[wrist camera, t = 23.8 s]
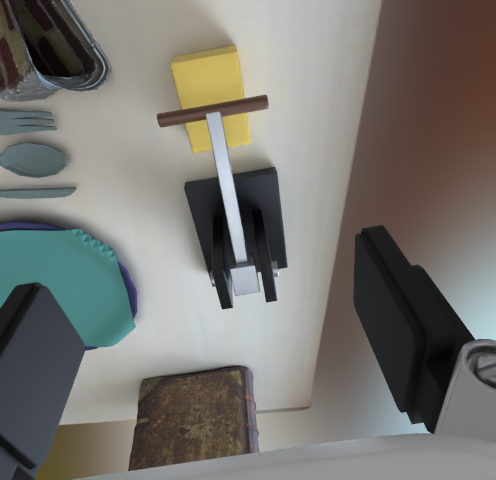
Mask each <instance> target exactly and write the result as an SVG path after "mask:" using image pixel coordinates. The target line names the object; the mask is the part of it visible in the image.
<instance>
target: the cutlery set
mask: <svg viewBox="0 0 496 480" xmlns="http://www.w3.org/2000/svg"><path fill="white" fill-rule="evenodd" d="M50 115H52V113H51V112H42V111H14V110H2V109H0V135H9V134H15V133H24V132H33V131H43V130H56V127H55V126H32V125H30V124H40V123H54V119H36V118H26V117H36V116H50ZM0 165H1V166H2V167H3V168H5V169H7V170H9V171H11V172H13V173H15V174H17V175H19V176H27V177H35V178H41V177H46V176H51V175H55V174H58V173H59V172H60V171H61V170H62V169H63V168H65V167H66V166H67V163H66V160H65V157H64V154H62V153H60V152H58V151H56V150H54V149H53V148H51V147H49V146H46V145H39V144H32V143H22V144H18V145H13V146H9V147H7V148H6V149H5V150H4V151H3V152H2V153H1V154H0ZM75 190H76V187H71V188H41V189H11V190H0V197H5V198H55V197H65V196H68V195H70V194H72V193H74V191H75ZM33 282H39V283H41V284H42V285H43V286H47V287H48V288H49V290H50V291H51V293H52V294H53V296H54V297H55V299H56V300H57V302H58V303H59V305H60V306H61V308H62V309H63V311H64V313H65V314H66V316H67V317H68V319H69V320H70V322H71V323H72V325H73V326H74V328H75V329H76V331H77V332H78V334H79V335H80V337H81V338H82V340H83V342H84V345H85V351H86V350H92V349H96V348H99V347H108V346H113V345H115V344H117V343H118V342H119V341H120V340H122V339H123V338H124V337H125V336H126V335H127V334H128V333H130V332H131V331H132V330H133V329H134V328H135V327H136V326H135V323H134V320H133V319H134V317H135V314H136V312H137V295H136V289H135V286H134V284H133V282H132V280H131V278H130V276H129V274H128V272H127V270H126V269H125V268H124V267H123V266H122V265H121V264H120V263H119V262H118V261H117V258H116V255H115V252H114V250H113V249H112V248H111V247H110V246H107V245H105V244H103V243H102V242H101V241H98V240H96V239H95V238H94V237H93V236H91V235H88V234H87V233H86V232H85V231H84V230H81V229H74V230H66V229H63V228H60V227H57V226H54V225H51V224H48V223H37V222H25V221H8V222H3V223H0V308H1V306H2V305H3V303H4V302H5V300H6V299H7V297H8V296H9V294H10V293H11V292H12V290H13V289H14V288H15V286H17V285H21V284H27V283H33Z"/></svg>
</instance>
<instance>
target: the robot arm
mask: <svg viewBox="0 0 496 480" xmlns="http://www.w3.org/2000/svg"><path fill="white" fill-rule="evenodd" d="M353 298H354V305H355V309H356V312H357V314H358V316H359V318H360V321H361V323H362V326H363V328H364V330H365V333H366V335H367V337H368V340H369V342H370V345H371V347H372V349H373V352H374V354H375V356H376V358H377V361H378V363H379V366H380V368H381V370H382V372H383V375H384V377H385V380H386V382H387V384H388V387H389V389H390V391H391V393H392V396H393V398H394V401H395V403H396V405H397V407H398V409H399V411H400V412H401V413H402V412H407V414H408V417H409V419H410V421H411V423H412V424H417V423H423V422H424V424H425V427H426V429H427V431H429V432H430V433H432V434H417V433H416V434H402V435H389V436H378V437H370V438H363V439H354V440H346V441H338V442H330V443H322V444H314V445H307V446H300V447H293V448H286V449H279V450H272V451H265V452H258V453H251V454H243V455H236V456H229V457H222V458H215V459H209V460H202V461H195V462H188V463H181V464H174V465H167V466H161V467H154V468H147V469H140V470H133V471H127V472H121V473H113V474H106V475H100V476H93V477H87V478H80V479H74V480H496V341H495V340H491V339H478V340H475V339H474V337H473V336H472V334H471V333H470V332H469V330H468V329H467V328H466V326H465V325H464V323H463V322H462V321H461V319H460V318H459V317H458V315H457V314H456V312H455V311H454V310H453V308H452V307H451V306H450V304H449V303H448V302H447V300H446V299H445V297H444V296H443V295H442V293H441V292H440V291H439V289H438V288H437V286H436V285H435V284H434V283H433V281H432V280H431V278H430V277H429V275H428V274H427V273H426V271H425V270H424V269H423V268H422V267H421V266H419V265H414V266H411V265H410V263H409V262H408V260H407V259H406V257H405V256H404V255H403V253H402V252H401V250H400V249H399V247H398V246H397V244H396V243H395V242H394V240H393V239H392V237H391V236H390V234H389V233H388V231H387V230H386V229H385V227H384V226H382V225H380V226H374V227H368V228H363V229H362V231H361V234H357V235H356V237H355V265H354V297H353ZM84 352H85V345H84V342H83V340H82V338H81V337H80V335H79V334H78V332H77V331H76V329H75V328H74V326H73V325H72V323H71V322H70V320H69V319H68V317H67V316H66V314H65V313H64V311H63V309H62V308H61V306H60V305H59V303H58V302H57V300H56V299H55V297H54V296H53V294H52V293H51V291H50V290H49V288H48V287H47V286H43V285H42V284H41V283H39V282H33V283H27V284H21V285H17V286H15V288H14V289H13V290H12V292H11V293H10V294H9V296H8V297H7V299H6V300H5V302H4V303H3V305H2V306H1V308H0V480H34V479H35V476H36V474H37V471H38V469H39V466H41V465H43V463H44V462H45V460H46V458H47V455H48V452H49V450H50V447H51V444H52V441H53V439H54V436H55V433H56V430H57V427H58V425H59V422H60V419H61V416H62V414H63V411H64V408H65V405H66V402H67V400H68V397H69V394H70V391H71V389H72V386H73V383H74V380H75V378H76V375H77V372H78V369H79V366H80V364H81V361H82V358H83V355H84Z"/></svg>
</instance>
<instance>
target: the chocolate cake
mask: <svg viewBox="0 0 496 480" xmlns="http://www.w3.org/2000/svg"><path fill="white" fill-rule="evenodd" d="M109 74H110V68H109V64H108V61H107V58H106V57H105V56H104V53H102V51H101V49H100V48H99V44H98V43H95V41H93V39H92V38H91V33H90V32H89V31H88V29H87V28H86V27H85V25H84V24H83V22H82V21H81V20H80V18H79V17H78V15H77V14H76V12H75V11H74V10H73V8H72V6H71V4H70V2H69V1H68V0H0V100H4V101H9V102H23V101H30V100H38V99H46V98H47V97H48V96H50V95H51V94H53V93H54V92H55V91H56V90H58V89H62V88H65V89H69V90H74V91H82V92H83V91H88V90H94V89H98V88H97V87H99V86H102V84H103V83H104V82H106V81H107V78H108V77H109Z"/></svg>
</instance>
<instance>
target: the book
mask: <svg viewBox="0 0 496 480" xmlns="http://www.w3.org/2000/svg"><path fill="white" fill-rule="evenodd" d="M255 410H256V403H255V401H254V395H253V374H252V372H251V371H250V370H248V369H247V368H242V367H231V368H222V369H219V370H215V371H209V372H203V373H196V374H191V375H182V376H175V377H159V378H154V379H148V380H144V381H142V382H141V385H140V391H139V400H138V414H137V424H136V427H135V429H134V438H133V445H132V451H131V455H130V462H129V469H128V471H133V470H140V469H147V468H154V467H161V466H167V465H174V464H181V463H188V462H195V461H202V460H209V459H215V458H222V457H229V456H236V455H243V454H251V453H258V452H259V445H258V434H259V432H258V429H257V425H256V415H255Z"/></svg>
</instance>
